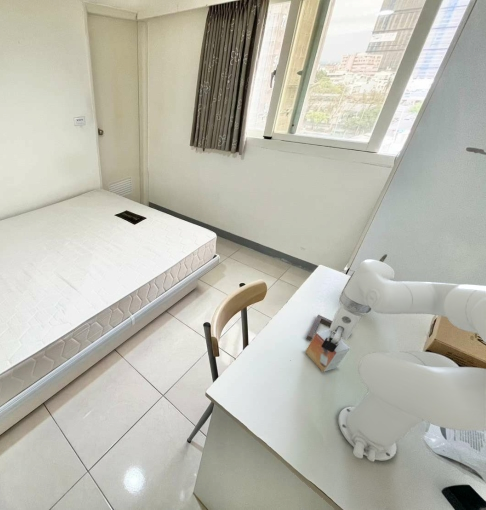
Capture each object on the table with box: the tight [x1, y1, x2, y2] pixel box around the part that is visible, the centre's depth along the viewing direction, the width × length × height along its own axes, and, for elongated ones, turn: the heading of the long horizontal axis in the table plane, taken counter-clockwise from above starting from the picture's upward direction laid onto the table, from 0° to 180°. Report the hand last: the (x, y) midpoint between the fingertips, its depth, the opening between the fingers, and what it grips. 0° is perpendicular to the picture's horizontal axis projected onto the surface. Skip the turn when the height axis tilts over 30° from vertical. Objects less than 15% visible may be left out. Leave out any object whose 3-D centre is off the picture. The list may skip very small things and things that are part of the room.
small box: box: [304, 328, 351, 373], centre depth 87 cm, size 8×6×10 cm
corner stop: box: [305, 314, 333, 342], centre depth 98 cm, size 14×11×2 cm
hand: (331, 339), depth 85 cm, fingers open, 9 cm apart
